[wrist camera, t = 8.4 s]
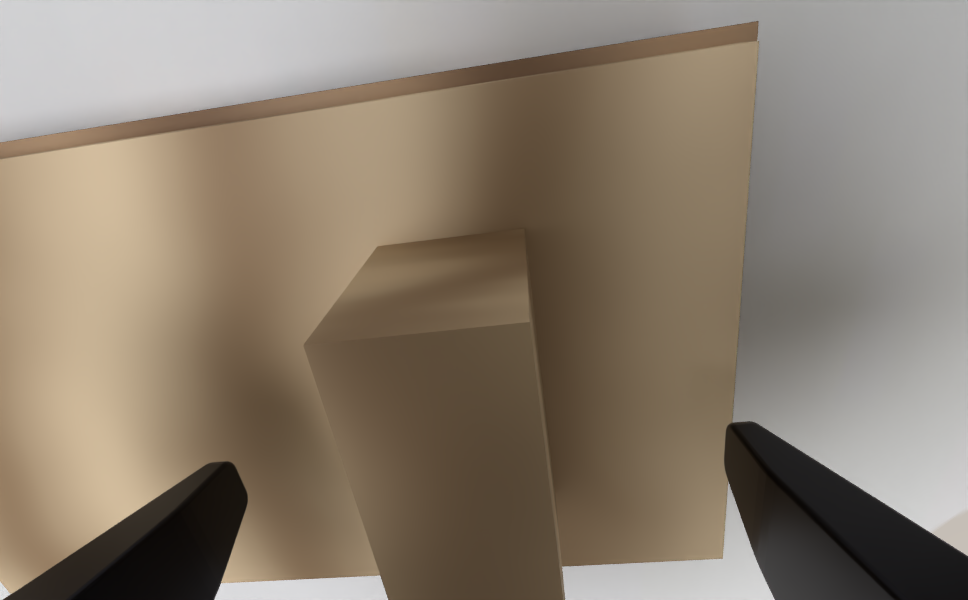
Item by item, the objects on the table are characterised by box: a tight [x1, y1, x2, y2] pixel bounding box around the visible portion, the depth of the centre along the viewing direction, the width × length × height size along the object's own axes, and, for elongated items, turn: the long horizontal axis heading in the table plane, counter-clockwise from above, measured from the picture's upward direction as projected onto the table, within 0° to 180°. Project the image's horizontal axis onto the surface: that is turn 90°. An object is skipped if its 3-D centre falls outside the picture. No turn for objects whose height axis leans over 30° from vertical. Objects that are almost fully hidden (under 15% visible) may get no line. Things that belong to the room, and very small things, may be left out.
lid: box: [0, 41, 759, 600], centre depth 11 cm, size 21×12×6 cm, turn 98°
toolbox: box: [0, 21, 758, 158], centre depth 13 cm, size 23×13×8 cm, turn 98°
